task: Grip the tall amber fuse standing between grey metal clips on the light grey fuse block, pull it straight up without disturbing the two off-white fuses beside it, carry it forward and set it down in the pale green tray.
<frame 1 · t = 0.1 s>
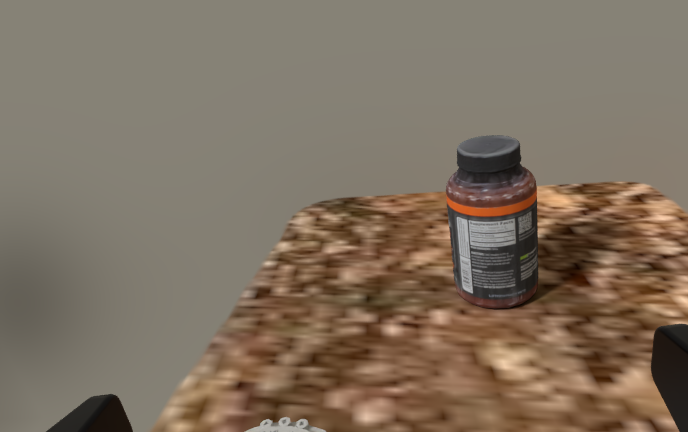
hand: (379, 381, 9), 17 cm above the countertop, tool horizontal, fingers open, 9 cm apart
supplement bottle: (495, 291, 39), on the countertop
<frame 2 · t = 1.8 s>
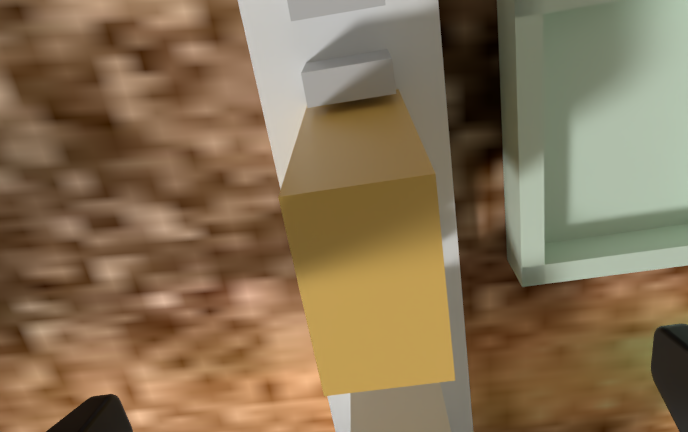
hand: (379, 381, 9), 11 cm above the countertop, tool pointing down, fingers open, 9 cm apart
fuse block: (363, 159, 19), on the countertop
tray: (617, 120, 19), on the countertop
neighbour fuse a: (395, 371, 22), point 1 cm above the countertop, touching fuse block
amber fuse: (363, 168, 18), point 1 cm above the countertop, touching fuse block
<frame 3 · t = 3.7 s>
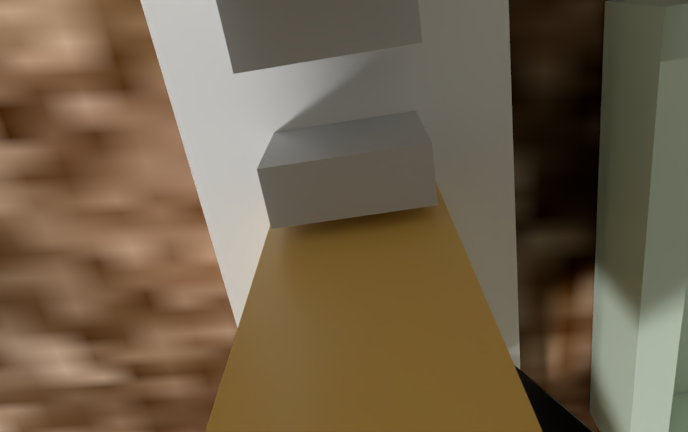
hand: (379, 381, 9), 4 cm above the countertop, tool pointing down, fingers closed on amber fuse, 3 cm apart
fuse block: (371, 273, 12), on the countertop
amber fuse: (373, 297, 11), point 1 cm above the countertop, touching fuse block, gripper
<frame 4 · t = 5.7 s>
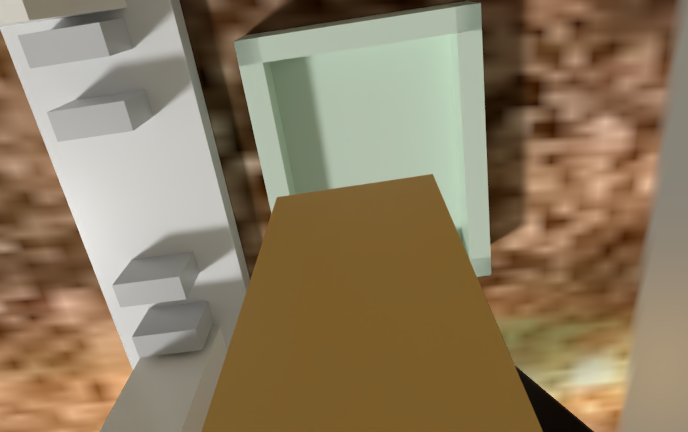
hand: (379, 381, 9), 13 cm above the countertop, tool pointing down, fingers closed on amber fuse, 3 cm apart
fuse block: (150, 183, 21), on the countertop
tray: (371, 152, 21), on the countertop
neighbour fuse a: (201, 374, 24), point 1 cm above the countertop, touching fuse block
amber fuse: (372, 295, 11), point 11 cm above the countertop, touching gripper
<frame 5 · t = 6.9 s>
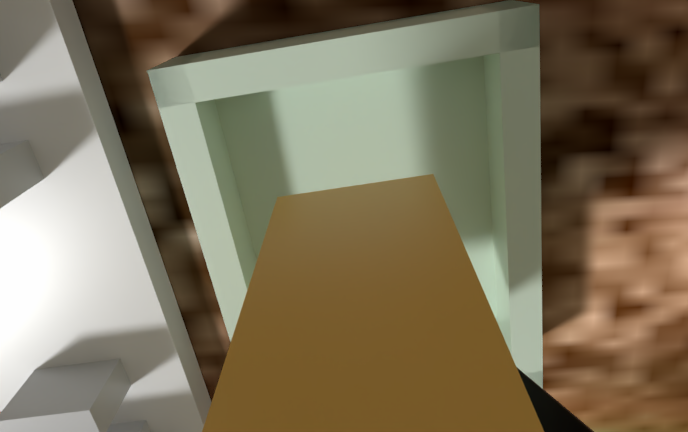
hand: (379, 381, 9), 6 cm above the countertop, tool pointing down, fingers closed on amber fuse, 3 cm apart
fuse block: (57, 263, 15), on the countertop
tray: (369, 219, 15), on the countertop
amber fuse: (372, 295, 11), point 4 cm above the countertop, touching gripper
when the fingers open (4 cm above the countertop, at t = 7.9 s): amber fuse drops 1 cm, resting on tray.
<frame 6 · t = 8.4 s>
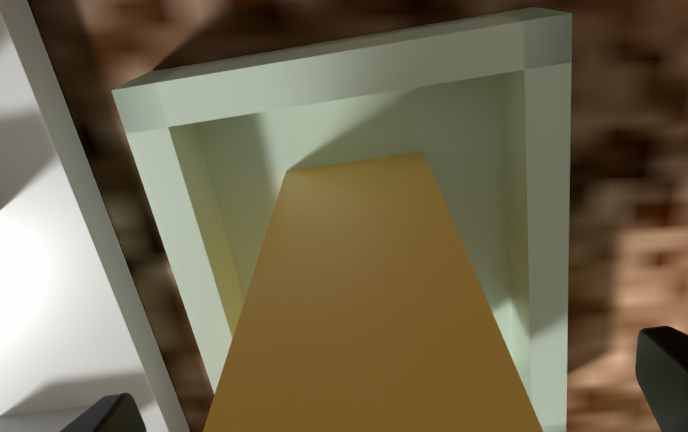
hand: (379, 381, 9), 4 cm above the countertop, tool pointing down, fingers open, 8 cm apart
fuse block: (22, 300, 14), on the countertop
tray: (370, 252, 13), on the countertop
amber fuse: (369, 261, 12), resting on tray
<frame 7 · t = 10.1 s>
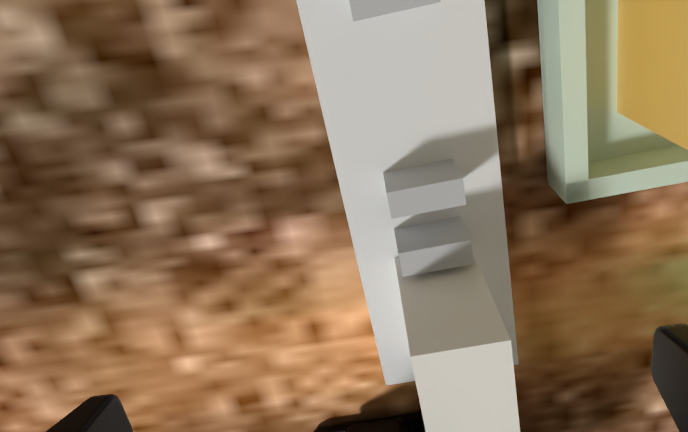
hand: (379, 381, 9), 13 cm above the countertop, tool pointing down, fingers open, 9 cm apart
fuse block: (402, 85, 19), on the countertop
tray: (655, 31, 19), on the countertop
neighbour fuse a: (439, 302, 22), point 1 cm above the countertop, touching fuse block
amber fuse: (662, 32, 18), resting on tray
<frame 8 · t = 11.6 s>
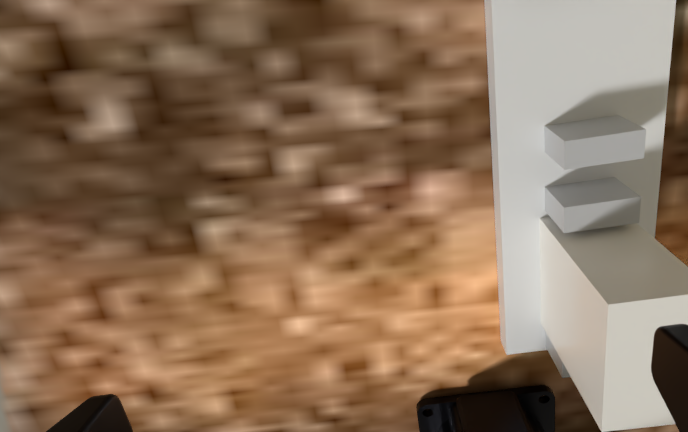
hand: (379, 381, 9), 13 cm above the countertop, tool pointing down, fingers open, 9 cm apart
fuse block: (571, 37, 19), on the countertop
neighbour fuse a: (577, 268, 22), point 1 cm above the countertop, touching fuse block
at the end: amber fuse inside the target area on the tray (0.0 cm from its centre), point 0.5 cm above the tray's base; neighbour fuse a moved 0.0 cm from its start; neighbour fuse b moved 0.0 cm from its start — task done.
